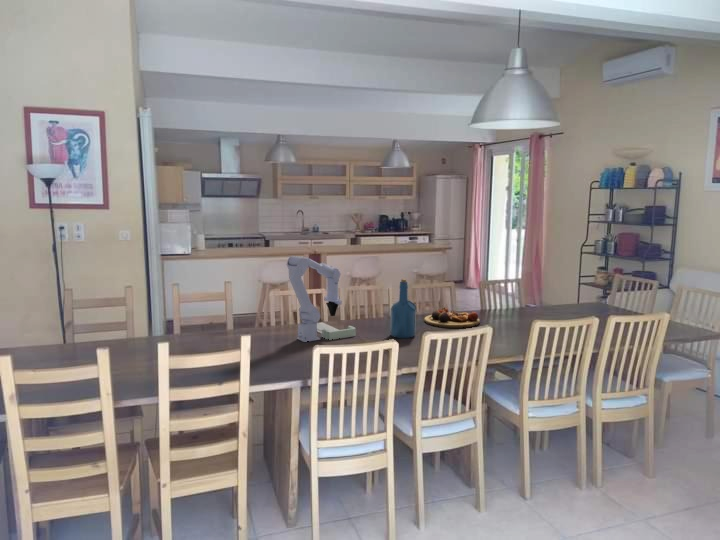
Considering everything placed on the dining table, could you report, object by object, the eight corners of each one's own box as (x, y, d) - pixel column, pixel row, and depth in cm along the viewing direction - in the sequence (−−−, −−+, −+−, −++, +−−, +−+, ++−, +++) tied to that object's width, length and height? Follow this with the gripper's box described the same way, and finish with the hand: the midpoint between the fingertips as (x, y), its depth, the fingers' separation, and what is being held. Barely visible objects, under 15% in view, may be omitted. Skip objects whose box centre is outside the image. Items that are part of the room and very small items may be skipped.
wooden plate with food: (490, 322, 314) (490, 308, 313) (461, 331, 290) (461, 316, 289) (443, 314, 335) (444, 301, 334) (413, 323, 312) (413, 309, 311)
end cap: (328, 340, 272) (328, 332, 271) (321, 337, 278) (321, 329, 277) (357, 335, 281) (357, 328, 280) (350, 332, 287) (350, 325, 286)
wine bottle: (386, 337, 278) (387, 280, 274) (395, 331, 290) (396, 276, 286) (411, 340, 272) (412, 282, 268) (419, 334, 284) (420, 278, 280)
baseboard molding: (329, 340, 274) (349, 337, 280) (329, 334, 274) (349, 331, 280) (303, 327, 300) (322, 324, 307) (303, 322, 300) (322, 319, 306)
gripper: (346, 291, 279) (346, 317, 281) (331, 287, 291) (332, 312, 293) (334, 293, 275) (335, 319, 277) (320, 289, 287) (320, 314, 289)
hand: (332, 315), depth 285 cm, fingers closed
